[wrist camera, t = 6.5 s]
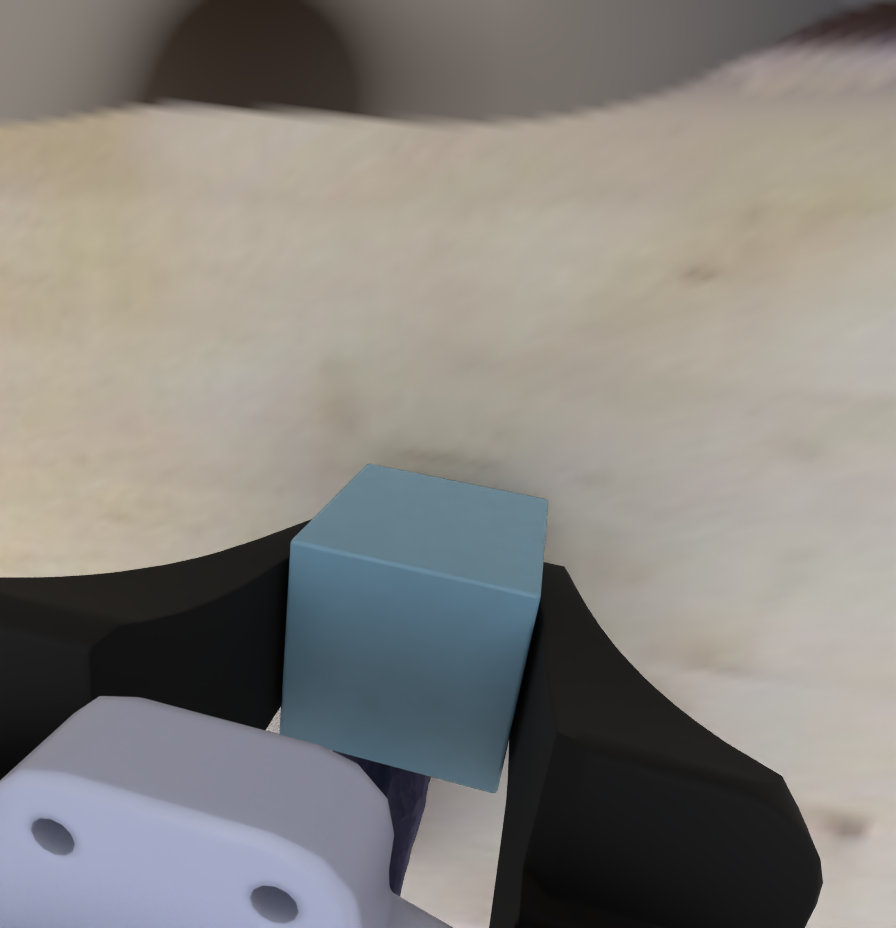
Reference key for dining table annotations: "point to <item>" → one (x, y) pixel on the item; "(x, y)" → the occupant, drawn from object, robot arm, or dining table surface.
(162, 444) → the dining table surface
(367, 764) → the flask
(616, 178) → the dining table surface
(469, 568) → the blue cube
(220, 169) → the dining table surface
